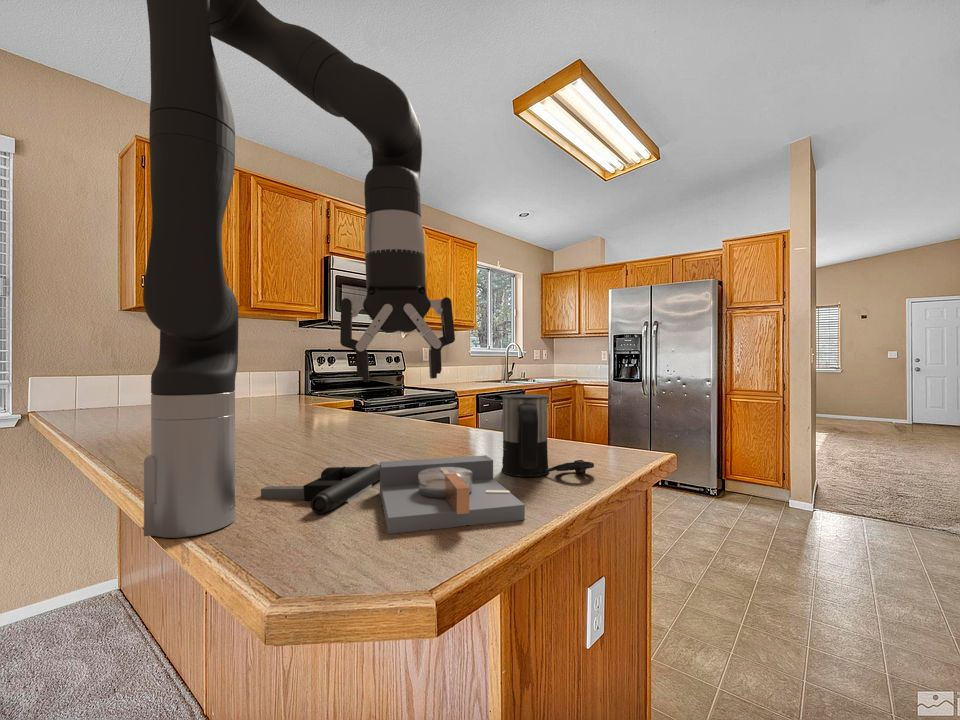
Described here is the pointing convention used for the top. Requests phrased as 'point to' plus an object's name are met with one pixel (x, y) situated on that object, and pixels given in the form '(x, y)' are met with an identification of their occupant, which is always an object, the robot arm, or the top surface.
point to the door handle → (329, 487)
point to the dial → (447, 486)
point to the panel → (426, 513)
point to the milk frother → (529, 438)
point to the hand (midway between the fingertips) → (400, 379)
